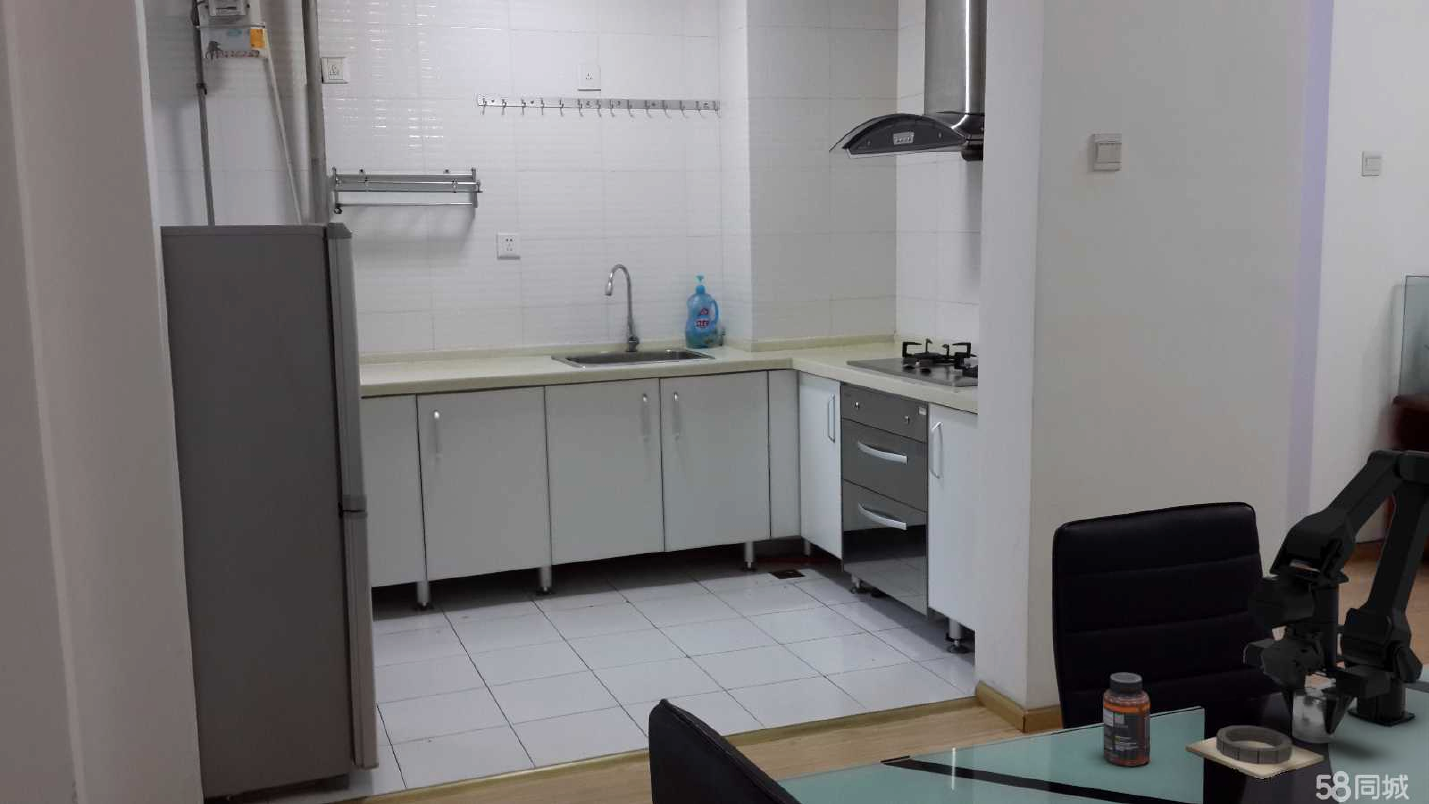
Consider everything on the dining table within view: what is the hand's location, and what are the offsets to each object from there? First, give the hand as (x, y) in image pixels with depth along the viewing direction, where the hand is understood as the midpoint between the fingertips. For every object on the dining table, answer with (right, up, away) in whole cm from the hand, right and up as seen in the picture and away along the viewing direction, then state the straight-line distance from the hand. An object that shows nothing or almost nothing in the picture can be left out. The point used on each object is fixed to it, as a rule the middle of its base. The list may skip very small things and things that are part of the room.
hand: (1312, 727), depth 172 cm
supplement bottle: (-28, -3, -6) cm, 28 cm away
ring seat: (-11, -2, -6) cm, 12 cm away
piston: (0, -1, 0) cm, 1 cm away
